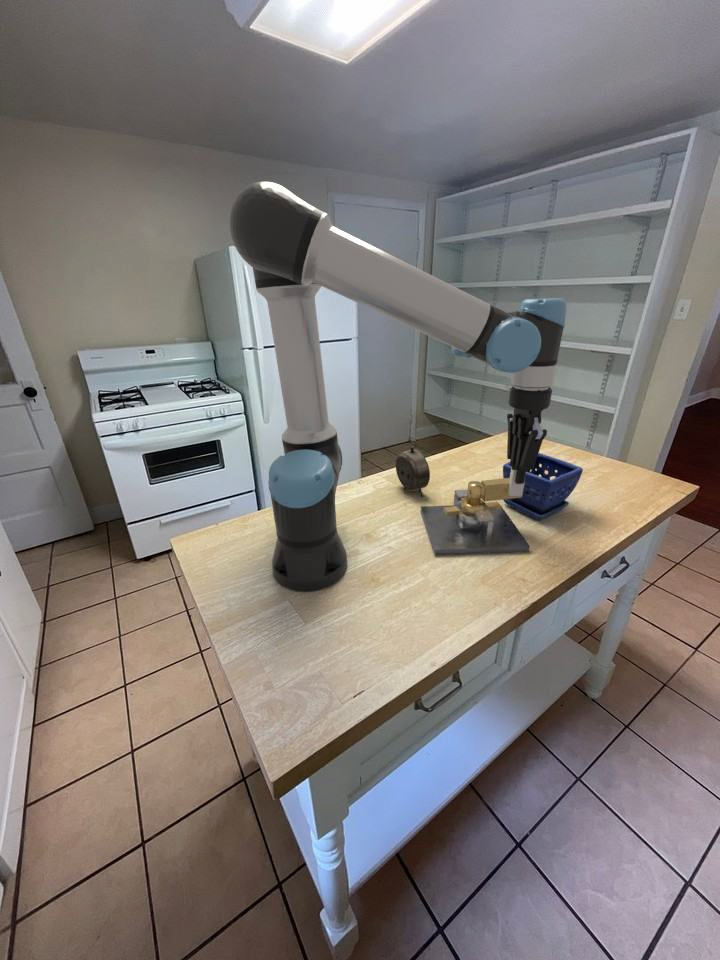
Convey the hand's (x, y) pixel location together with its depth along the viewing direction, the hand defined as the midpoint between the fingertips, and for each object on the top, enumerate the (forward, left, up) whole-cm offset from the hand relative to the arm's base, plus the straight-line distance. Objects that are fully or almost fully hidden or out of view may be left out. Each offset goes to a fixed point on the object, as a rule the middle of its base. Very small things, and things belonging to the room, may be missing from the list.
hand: (514, 494), depth 84 cm
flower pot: (+10, +10, -10) cm, 17 cm away
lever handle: (-6, +1, -4) cm, 8 cm away
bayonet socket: (-9, +1, -10) cm, 13 cm away
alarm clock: (-20, +21, -10) cm, 30 cm away
